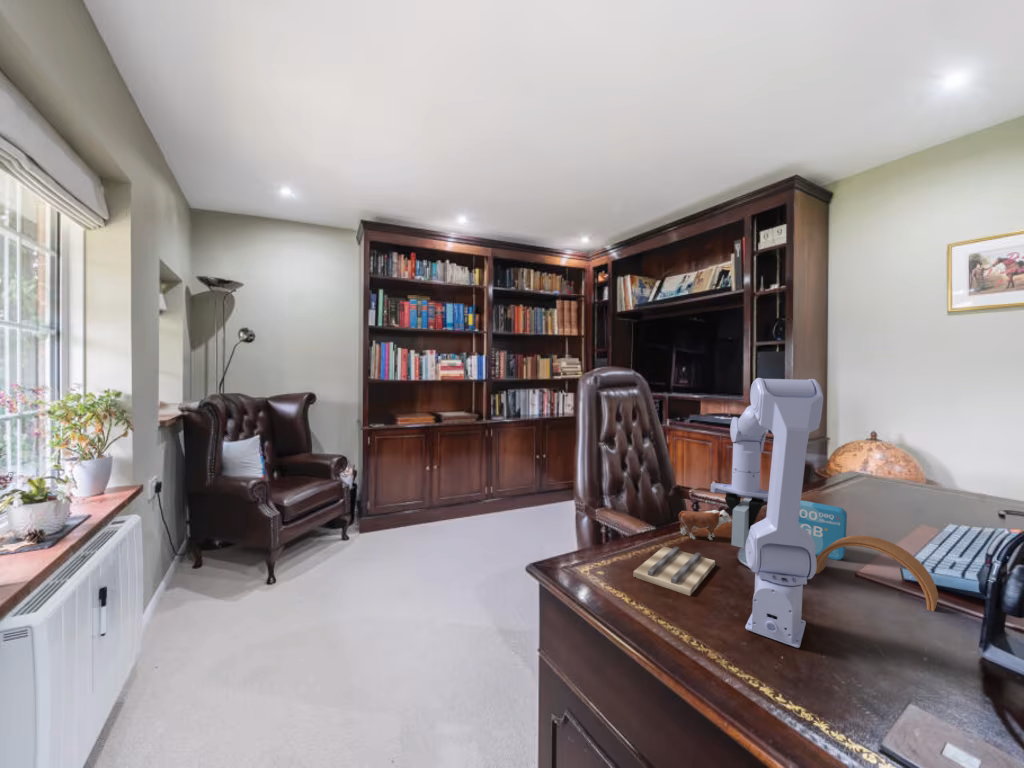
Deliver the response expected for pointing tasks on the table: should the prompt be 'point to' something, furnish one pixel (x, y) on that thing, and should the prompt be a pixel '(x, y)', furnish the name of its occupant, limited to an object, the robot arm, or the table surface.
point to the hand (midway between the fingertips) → (743, 528)
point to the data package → (824, 526)
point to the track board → (675, 570)
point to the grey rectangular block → (740, 523)
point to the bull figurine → (702, 521)
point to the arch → (892, 551)
